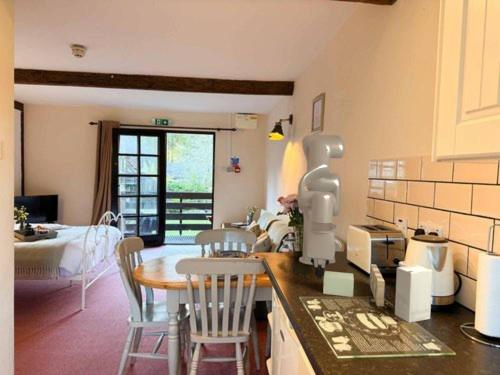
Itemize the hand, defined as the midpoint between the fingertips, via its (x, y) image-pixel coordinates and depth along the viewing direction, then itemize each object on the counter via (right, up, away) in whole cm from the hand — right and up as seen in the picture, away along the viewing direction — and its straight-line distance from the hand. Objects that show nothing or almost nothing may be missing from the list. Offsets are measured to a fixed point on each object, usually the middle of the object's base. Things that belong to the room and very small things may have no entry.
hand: (319, 277), depth 127 cm
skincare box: (+23, -6, -23) cm, 33 cm away
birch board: (+19, -5, -4) cm, 20 cm away
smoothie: (+33, -5, +3) cm, 33 cm away
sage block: (+6, -5, -2) cm, 8 cm away
